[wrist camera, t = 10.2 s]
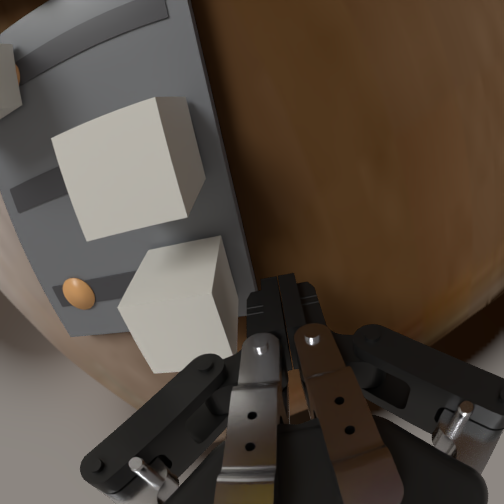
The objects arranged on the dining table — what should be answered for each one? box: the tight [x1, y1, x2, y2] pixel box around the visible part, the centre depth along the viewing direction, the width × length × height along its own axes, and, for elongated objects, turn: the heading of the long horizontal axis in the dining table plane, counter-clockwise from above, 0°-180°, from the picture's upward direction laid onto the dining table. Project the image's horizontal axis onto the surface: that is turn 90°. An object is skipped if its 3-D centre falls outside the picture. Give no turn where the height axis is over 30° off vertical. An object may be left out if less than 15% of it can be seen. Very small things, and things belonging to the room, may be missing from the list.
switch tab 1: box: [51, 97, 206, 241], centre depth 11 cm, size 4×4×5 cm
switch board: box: [0, 0, 258, 337], centre depth 15 cm, size 14×21×2 cm, turn 11°
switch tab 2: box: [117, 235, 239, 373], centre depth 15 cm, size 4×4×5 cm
